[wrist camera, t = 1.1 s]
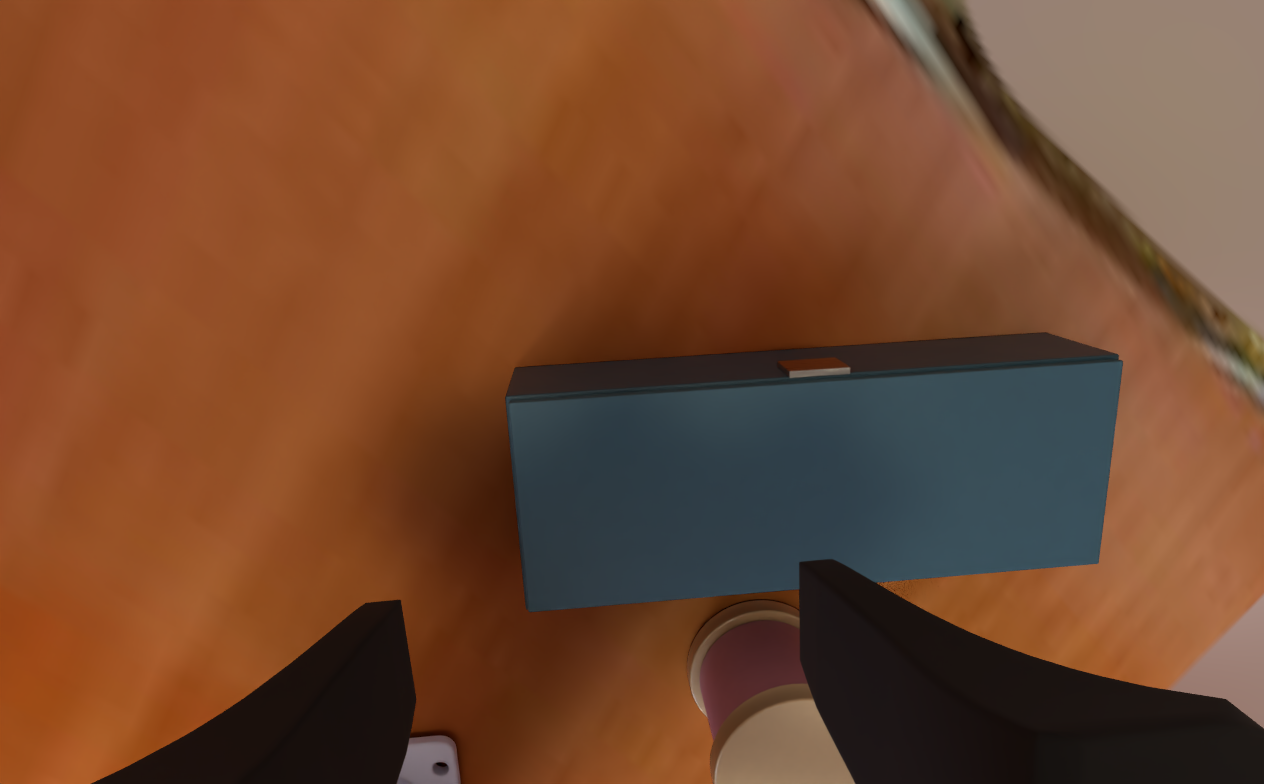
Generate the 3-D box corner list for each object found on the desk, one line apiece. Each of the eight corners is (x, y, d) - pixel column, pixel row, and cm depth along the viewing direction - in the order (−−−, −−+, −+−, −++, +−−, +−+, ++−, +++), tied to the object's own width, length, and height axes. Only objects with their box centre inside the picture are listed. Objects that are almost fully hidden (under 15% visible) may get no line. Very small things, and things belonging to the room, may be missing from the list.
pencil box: (1046, 327, 23) (1128, 351, 20) (1028, 514, 24) (1102, 566, 21) (514, 362, 22) (503, 393, 19) (531, 555, 24) (525, 616, 20)
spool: (822, 714, 26) (879, 834, 21) (688, 726, 26) (715, 851, 21) (824, 593, 25) (885, 691, 20) (684, 605, 24) (711, 708, 20)
